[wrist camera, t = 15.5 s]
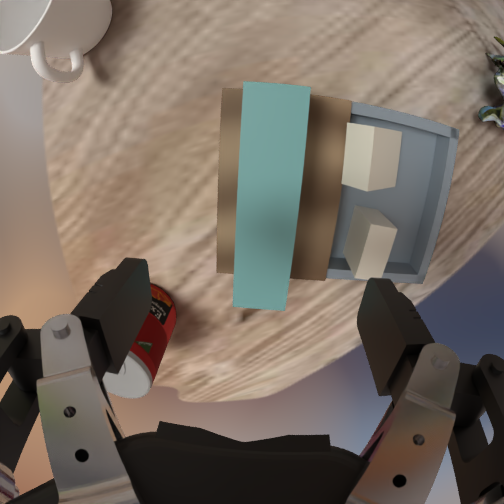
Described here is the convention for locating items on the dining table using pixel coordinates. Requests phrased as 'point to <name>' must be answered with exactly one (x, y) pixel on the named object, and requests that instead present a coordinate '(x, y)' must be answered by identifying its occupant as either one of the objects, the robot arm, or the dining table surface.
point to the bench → (312, 189)
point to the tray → (402, 194)
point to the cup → (53, 32)
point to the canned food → (145, 350)
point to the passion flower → (500, 113)
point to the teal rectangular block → (268, 191)
